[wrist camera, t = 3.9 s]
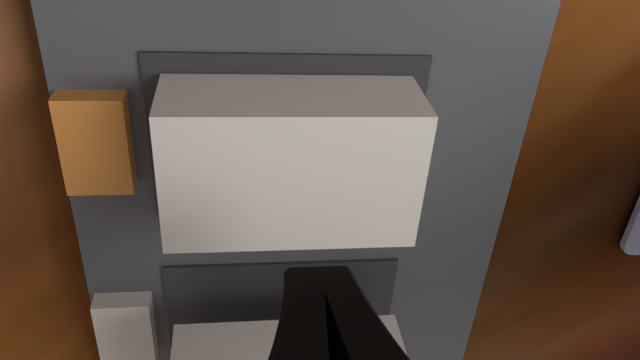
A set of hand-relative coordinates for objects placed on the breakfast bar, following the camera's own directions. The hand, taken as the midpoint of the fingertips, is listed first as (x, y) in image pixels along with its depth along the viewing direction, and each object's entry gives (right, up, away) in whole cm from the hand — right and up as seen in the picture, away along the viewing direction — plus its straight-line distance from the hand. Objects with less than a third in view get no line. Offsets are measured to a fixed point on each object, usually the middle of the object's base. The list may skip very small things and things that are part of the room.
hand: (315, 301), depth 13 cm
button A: (-1, +4, +6) cm, 7 cm away
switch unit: (-1, -2, +12) cm, 12 cm away
